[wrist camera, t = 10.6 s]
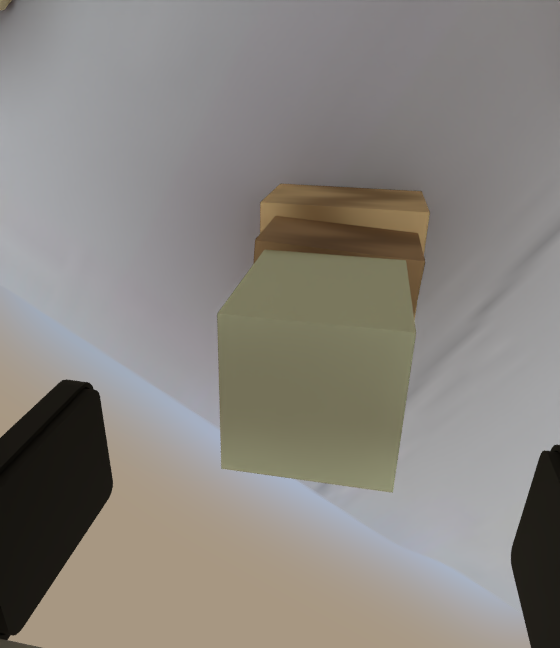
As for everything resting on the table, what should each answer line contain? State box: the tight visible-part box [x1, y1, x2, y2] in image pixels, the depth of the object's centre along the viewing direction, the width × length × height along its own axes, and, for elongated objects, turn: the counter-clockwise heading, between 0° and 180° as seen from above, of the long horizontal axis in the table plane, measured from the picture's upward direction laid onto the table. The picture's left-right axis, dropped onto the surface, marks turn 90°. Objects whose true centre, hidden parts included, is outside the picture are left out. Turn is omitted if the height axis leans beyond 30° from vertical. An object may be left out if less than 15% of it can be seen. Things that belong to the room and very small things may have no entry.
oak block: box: [260, 184, 430, 320], centre depth 25 cm, size 7×7×5 cm
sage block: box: [217, 250, 416, 493], centre depth 17 cm, size 5×5×6 cm
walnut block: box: [254, 216, 425, 314], centre depth 21 cm, size 6×6×4 cm
